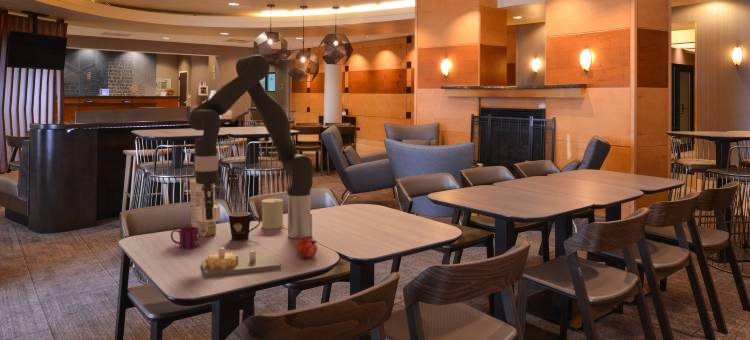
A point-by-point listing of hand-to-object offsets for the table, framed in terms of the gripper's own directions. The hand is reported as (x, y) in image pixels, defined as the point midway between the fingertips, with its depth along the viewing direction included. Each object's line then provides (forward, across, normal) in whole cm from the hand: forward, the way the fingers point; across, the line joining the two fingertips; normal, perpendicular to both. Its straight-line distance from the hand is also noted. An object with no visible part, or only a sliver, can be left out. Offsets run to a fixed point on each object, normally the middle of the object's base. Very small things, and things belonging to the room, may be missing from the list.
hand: (208, 217), depth 189 cm
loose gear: (+1, 0, 0) cm, 1 cm away
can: (+16, +43, -29) cm, 54 cm away
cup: (+16, +22, +8) cm, 28 cm away
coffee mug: (+16, +25, -14) cm, 33 cm away
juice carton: (+16, +38, 0) cm, 41 cm away
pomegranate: (+16, -7, -32) cm, 36 cm away
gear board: (+15, -11, -9) cm, 21 cm away
